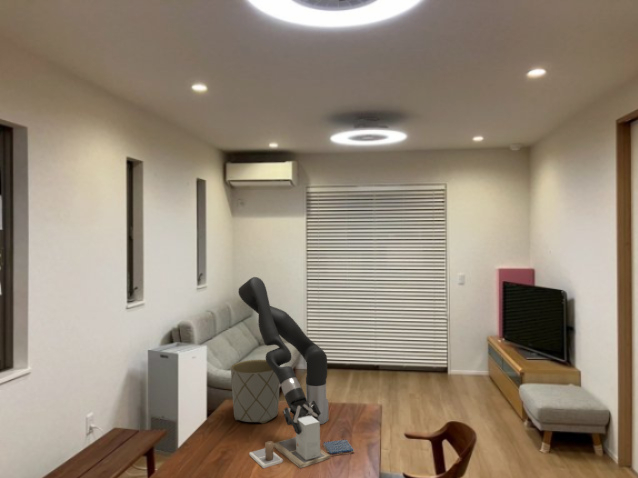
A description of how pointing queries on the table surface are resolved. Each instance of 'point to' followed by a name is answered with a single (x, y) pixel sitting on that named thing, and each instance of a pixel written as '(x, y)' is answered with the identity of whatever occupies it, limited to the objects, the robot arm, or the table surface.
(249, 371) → the planter
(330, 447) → the woven mat
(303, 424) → the small box
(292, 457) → the board
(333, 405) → the table surface
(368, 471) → the table surface
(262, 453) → the plate
